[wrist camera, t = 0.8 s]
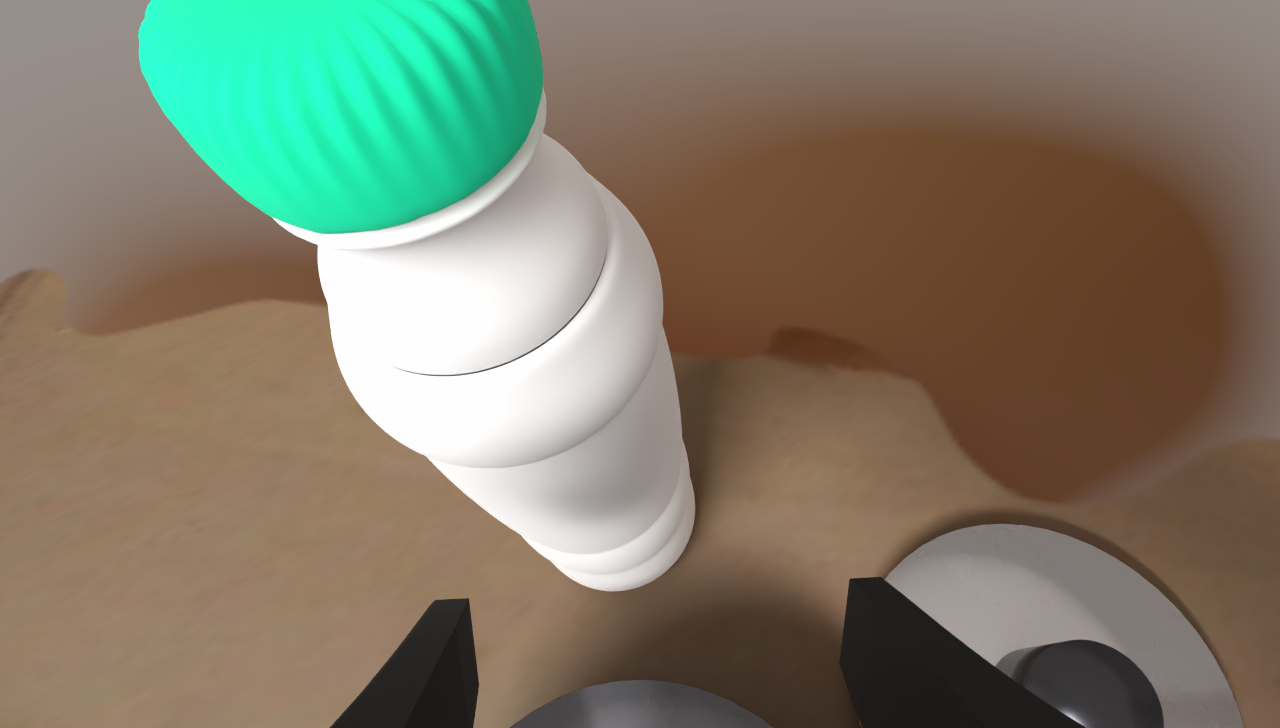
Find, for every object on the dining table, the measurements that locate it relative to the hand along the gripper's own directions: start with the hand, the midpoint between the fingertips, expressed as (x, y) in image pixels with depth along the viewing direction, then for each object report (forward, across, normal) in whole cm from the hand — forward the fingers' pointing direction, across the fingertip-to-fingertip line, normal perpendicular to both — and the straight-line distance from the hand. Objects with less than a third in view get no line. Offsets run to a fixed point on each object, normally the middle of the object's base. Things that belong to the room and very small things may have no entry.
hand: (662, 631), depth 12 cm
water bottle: (+16, 0, +8) cm, 18 cm away
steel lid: (+8, -15, +12) cm, 21 cm away
